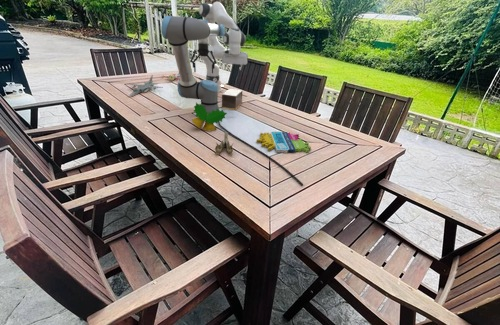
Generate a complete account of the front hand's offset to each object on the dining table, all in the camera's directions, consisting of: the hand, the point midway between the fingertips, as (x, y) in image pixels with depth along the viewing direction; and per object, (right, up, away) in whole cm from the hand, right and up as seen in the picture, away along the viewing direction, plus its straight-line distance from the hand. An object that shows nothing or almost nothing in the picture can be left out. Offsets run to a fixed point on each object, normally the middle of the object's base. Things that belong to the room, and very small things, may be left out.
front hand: (203, 72), depth 205 cm
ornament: (+11, -49, -40) cm, 64 cm away
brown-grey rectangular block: (+22, -25, +5) cm, 33 cm away
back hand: (+24, +4, +6) cm, 25 cm away
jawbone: (+23, -65, -66) cm, 95 cm away
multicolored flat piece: (+55, -59, -52) cm, 96 cm away
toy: (-43, +20, +76) cm, 89 cm away
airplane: (-57, -8, +25) cm, 62 cm away
